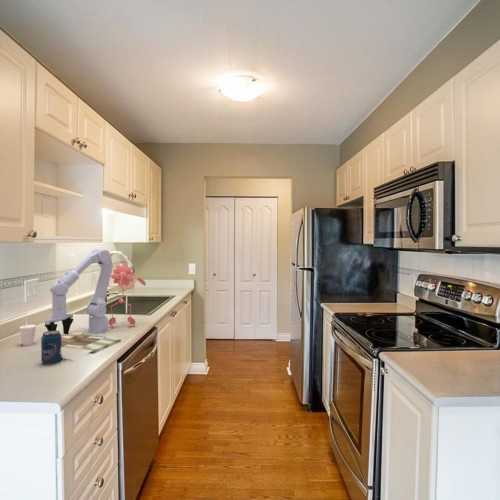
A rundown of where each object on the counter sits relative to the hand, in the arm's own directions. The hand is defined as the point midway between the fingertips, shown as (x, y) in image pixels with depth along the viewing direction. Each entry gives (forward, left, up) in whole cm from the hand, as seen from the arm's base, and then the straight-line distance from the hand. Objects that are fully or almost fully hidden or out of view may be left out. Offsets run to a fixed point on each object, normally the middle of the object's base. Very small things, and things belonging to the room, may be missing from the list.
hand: (59, 336), depth 161 cm
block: (0, +7, -1) cm, 8 cm away
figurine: (-35, +9, -3) cm, 36 cm away
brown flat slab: (0, +15, -3) cm, 16 cm away
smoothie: (+11, -7, -3) cm, 13 cm away
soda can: (+22, +18, -3) cm, 29 cm away
